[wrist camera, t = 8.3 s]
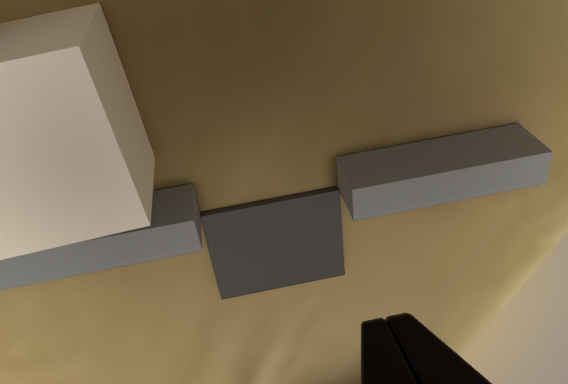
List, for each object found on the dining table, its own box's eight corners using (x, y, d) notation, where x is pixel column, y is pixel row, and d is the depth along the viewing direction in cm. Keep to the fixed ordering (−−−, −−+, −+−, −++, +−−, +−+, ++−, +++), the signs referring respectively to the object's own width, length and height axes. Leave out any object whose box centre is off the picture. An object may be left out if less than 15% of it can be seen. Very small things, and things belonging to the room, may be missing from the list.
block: (155, 156, 20) (150, 225, 17) (3, 190, 20) (-37, 268, 16) (100, 1, 17) (78, 45, 13) (-86, 39, 17) (-160, 96, 13)
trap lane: (499, 238, 26) (545, 296, 23) (8, 338, 24) (-19, 415, 21) (607, -416, 13) (746, -499, 10) (-403, -307, 12) (-633, -366, 8)
